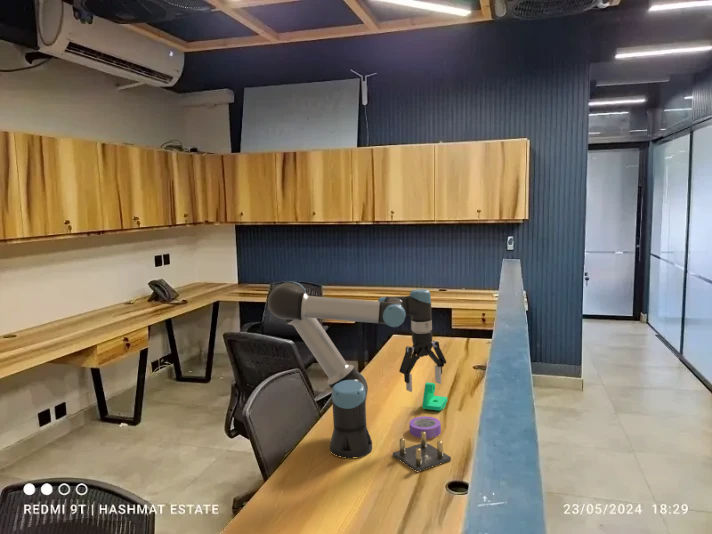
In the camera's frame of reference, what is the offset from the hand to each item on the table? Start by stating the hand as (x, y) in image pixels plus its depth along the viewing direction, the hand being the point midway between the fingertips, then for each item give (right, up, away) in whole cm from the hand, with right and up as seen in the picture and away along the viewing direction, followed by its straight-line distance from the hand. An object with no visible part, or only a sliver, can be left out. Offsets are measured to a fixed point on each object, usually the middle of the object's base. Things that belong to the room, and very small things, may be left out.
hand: (424, 386), depth 199 cm
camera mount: (+8, -15, +26) cm, 31 cm away
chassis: (-3, -20, -19) cm, 28 cm away
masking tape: (+1, -18, +2) cm, 18 cm away
